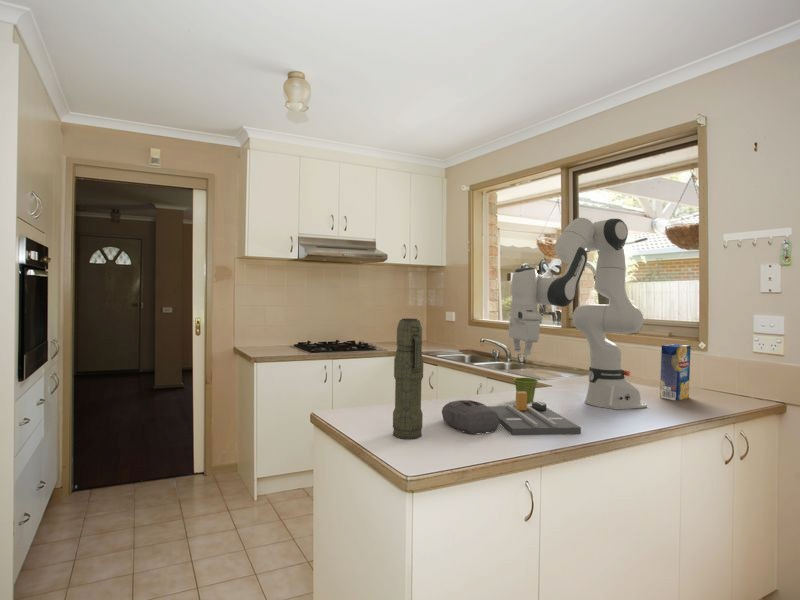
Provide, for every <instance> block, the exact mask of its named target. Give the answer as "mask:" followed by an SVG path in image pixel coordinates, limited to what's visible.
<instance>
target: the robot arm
mask: <svg viewBox="0 0 800 600" xmlns="http://www.w3.org/2000/svg"><path fill="white" fill-rule="evenodd" d="M628 229H629V228H628V227H627V224H626V222H624V221H623V220H622V219H620V218H609V219H605V220H600V221H595V222H592V221H591V220H590V219H588V218H585V217H577V218H574V220H572V221H571V222H570V223H569V224H568V225H567V226H566V227H565V228H564V229H563V231H562V232H561V234H559V236H558V238H557V239H556V241H555V244H554V252H555V255H556V256H557V258H558V260H560V261H561V262H563V263H565V264H567V266H566V268H565V270H564V273H563V274H562V275H560V276H557V277H543V276H541V275H540V274H539V273H537V269H536V268H535V267H528V266H527V267H520V268H516V269H515V270H514V271H513V273H512V277H511V286H510V289H511V290H510V292H511V293H510V294H511V301H510V302H511V303H510V317H509V324H508V337H509V338H512V342H513V346H514V347H513V348H514V349H513V351H514V352H517V353H518V352H519V353H520V352H521V345H520V342H521V341H523V342H524V345H525V346H524V349H523V354H524V355H525V356H530V355H531V350H532V347H533V343H538V342H539V339H540V330H541V329H540V327H541V324H540V321H541V320H542V314H541V313H540V311H539V310H538V309H537V308H538V307H537V306H538V305H543V306H554V307H555V306H556V307H562V308H564V307H567V306H569V305H570V304H571V303H572V302H573V301H574V299H575V297H576V293H577V288H578V285H579V282H580V281H581V280H580V279H581V277H582V276H583V272H584V270H585V268H586V265H587V262H588V253H589V252H597V255H598V256H597V259H596V267H595V277H594V290H595V291H596V292H597V293H598V294H599V295H601V296H603V297H604V298H607V300H609V303H608V304H594V303H590V304H582V305H577V307H576V308H575V309H574V311H573V313H572V323H573V325H574V326H575V328H576V329H577V330H578V331H579V332H581V333H582V334H583V335H584V337H585V339H586V340H587V343H588V346H589V350H590V351H589V354H590V355H589V357H590V361H589V362H590V364H589V367H588V387H587V388H588V390H587V393H586V397H585V399H584V403H586V404H587V405H591V406H594V407H600V408H607V409H613V410H628V409H642V408H643V409H645V408H647V407H648V405H647V403H646V402H645V401H642V400H641V393H640V390H639V389H638V388H637V387H636V386H634V385H633V384H632V383H631V382H630V381H629V380H627V379H626V377H630V376H631V371H630V370H627V369H625V370H624V369H622V368H621V367H622V350H621V348H620V346H619V345H618V344H616V343H614V342H612V341H611V340H609V339H608V338H607V337H606V334H620V335H623V334H625V335H626V334H627V335H628V334H634V333H635V334H636V333H637V332H639V331H640V330H641V329H642V327H643V325H644V316H643V315H644V314H643V312H642V311H641V310H640V308H638V307H637V306H636V305H634V304H633V302H632V301H631V300H630V299H629V296H628V295H627V289H626V276H627V274H626V273H627V256H626V249H625V248H624V246H625V244H626V242H627V239H628V234H629V230H628Z"/></svg>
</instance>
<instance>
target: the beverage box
mask: <svg viewBox="0 0 800 600" xmlns="http://www.w3.org/2000/svg"><path fill="white" fill-rule="evenodd" d="M691 349H692V347H691V345H689V344H688V345H686V344H676V343H671V344H663V345H661V352H660V353H661V355H660V356H661V357H660V381H659V383H660V384H659V385H660V387H659V398H660V399H666V400H671V401H676V402H677V401H681V400H684V399H688V398H690V378H691V377H690V373H691V370H690V369H691V351H692V350H691Z"/></svg>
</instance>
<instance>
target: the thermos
mask: <svg viewBox="0 0 800 600" xmlns="http://www.w3.org/2000/svg"><path fill="white" fill-rule="evenodd" d="M422 343H423V327H422V324H421V320H419V319H418V318H401V319H400V320H399V321H398V324H397V327H396V346H397V347H396V353H395V357H394V359H393V377H394V380H395V387H394V388H395V389H394V391H395V392H394V410H393V412H392V429H393V430H392V436H393V437H394V438H397V439H400V440H416V439H419V438H421V437H422V433H423V432H422V429H423V411H422V381H423V378H424V357H423V354H422V353H423V352H422V351H423V350H422V347H423V346H422V345H423V344H422Z"/></svg>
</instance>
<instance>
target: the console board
mask: <svg viewBox="0 0 800 600" xmlns="http://www.w3.org/2000/svg"><path fill="white" fill-rule="evenodd" d="M547 405H548V404H547V403H545V402H540V401H537V402H536V401H533V402H531V405H528V404H527V410H521V411H519V410H517V409H516V405H512V404H510V403H507V404H506V405H503V406H501V405H498V406H495V405H494V406H492V405H491V406H489V405H488V406H487V405H486V406H487V407H489V408H491V409H492V410H494V411H495V412H496V413H497V414H498V416H499V423H500V424H501V425H502V426H503V427H504V430H506V431H507V432H508V433H509V432H510V433H511V434H510V433H509V434H510V435H512V436H533V435H534V436H535V435H538V436H540V435H542V436H543V435H544V436H546V435H581V433H582V428H581V426H579V425H577V424H576V423H574V422H572V421H571V420H569V419H568V418H565V416H562V415H561V414H559V413H557V412H555V411H554V410H552V409H551V408H549V407H547ZM500 424H499V425H500ZM501 425H500V426H501ZM502 426H501V427H502ZM503 427H502V428H503Z"/></svg>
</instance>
